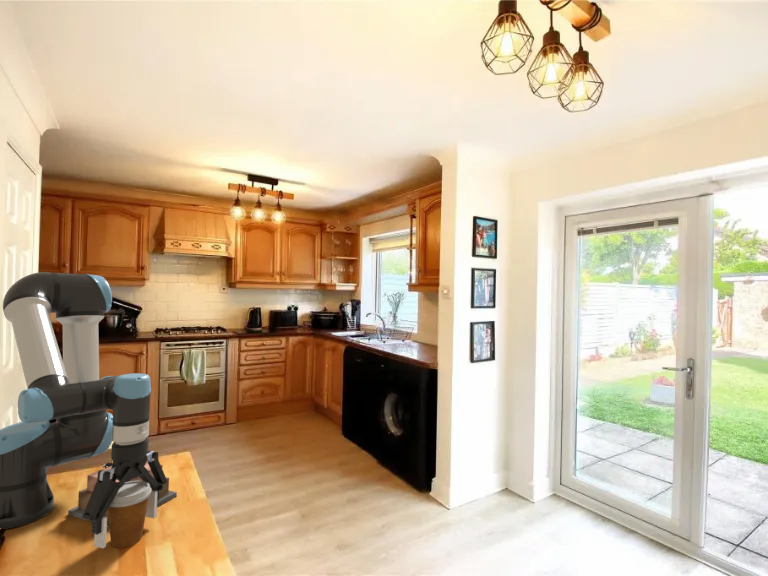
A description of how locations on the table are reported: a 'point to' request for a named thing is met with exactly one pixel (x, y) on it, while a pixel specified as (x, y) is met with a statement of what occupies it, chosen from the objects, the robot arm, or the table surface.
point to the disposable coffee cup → (128, 513)
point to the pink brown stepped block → (92, 479)
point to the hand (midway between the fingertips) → (127, 530)
